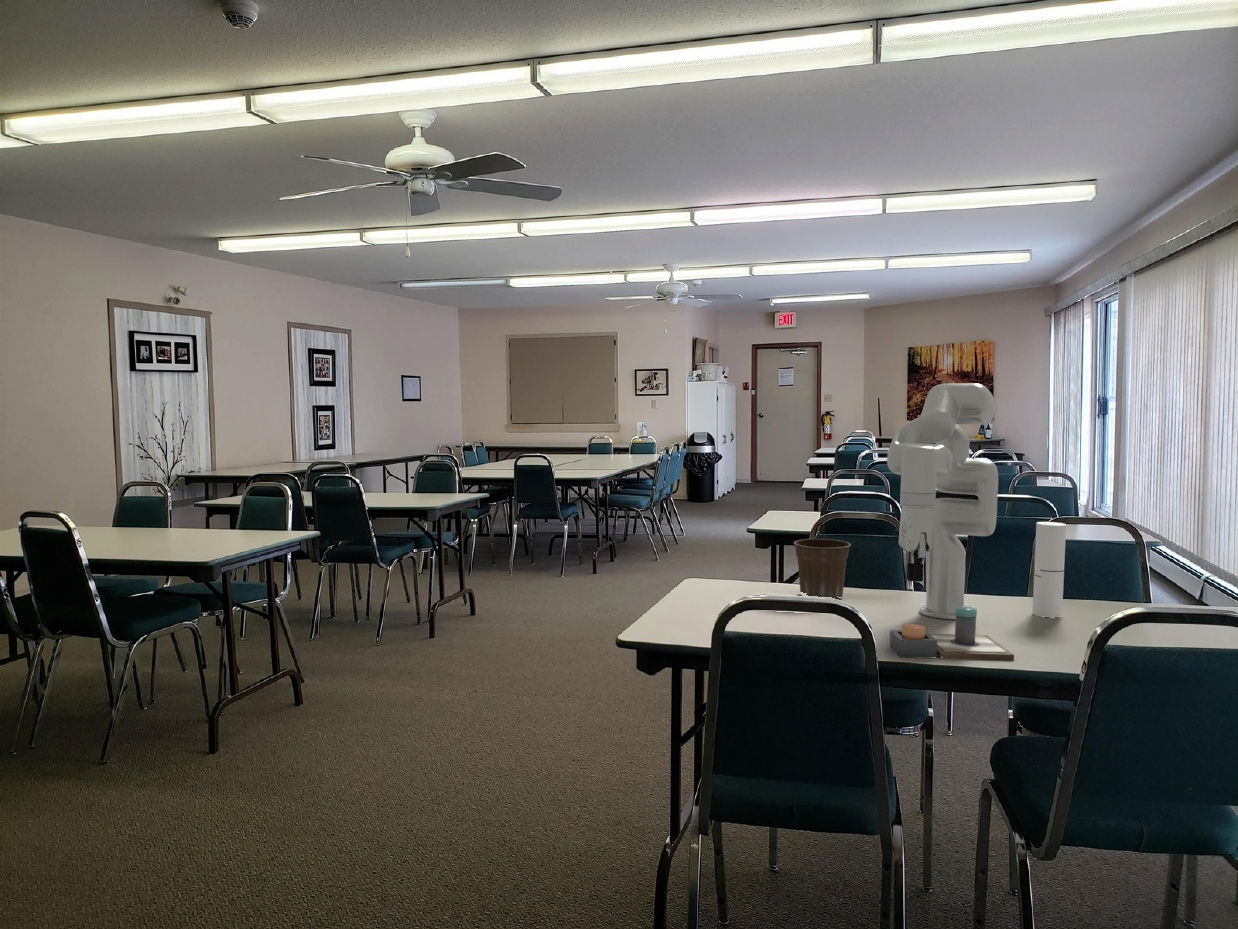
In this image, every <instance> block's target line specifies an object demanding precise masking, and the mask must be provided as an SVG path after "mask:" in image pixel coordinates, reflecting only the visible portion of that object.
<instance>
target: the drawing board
mask: <svg viewBox="0 0 1238 929" xmlns="http://www.w3.org/2000/svg"><path fill="white" fill-rule="evenodd" d="M929 634H930V635H931V636H933V637H934V638H935V639H936V640H937V656H938V657H939V658H940V657H943V658H942V659H954V658H955V659H956V660H957V658H958V660H960V659H961V660H996V661H997V660H1001V661H1003V660H1004V661H1014V660H1015V654H1013V653H1012V652H1011V651H1009V650H1008V649H1007V648H1005V647H1004V646H1002V645H1001V644H1000V643H998V642H997V640H994V639H993V638H992V637H990V636H989V635H988V634H975V644H974V645H962V644H958V643H955V633H954V634H953V633H952V634H951V633H950V634H949V633H929Z"/></svg>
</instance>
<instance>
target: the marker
mask: <svg viewBox="0 0 1238 929" xmlns="http://www.w3.org/2000/svg"><path fill="white" fill-rule="evenodd" d="M977 613H978V609H977V608H976V607H972V606H967V605H965V606H958V607H956V608H955V615H956V619H954V620H955V621H954V622H955V625H954V626H955V627H954V634H955V643H958V644H962V645H974V644H975V635H977V634H976V633H977V632H976V631H977V629H976V628H977V625H976V624H977V616H978V614H977Z"/></svg>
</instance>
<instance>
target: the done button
mask: <svg viewBox="0 0 1238 929" xmlns="http://www.w3.org/2000/svg"><path fill="white" fill-rule="evenodd" d="M901 630H902V637H903V638H911V639H925V631H926V627H925V626H924V625H921V624H917V623H904V624H901Z"/></svg>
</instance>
